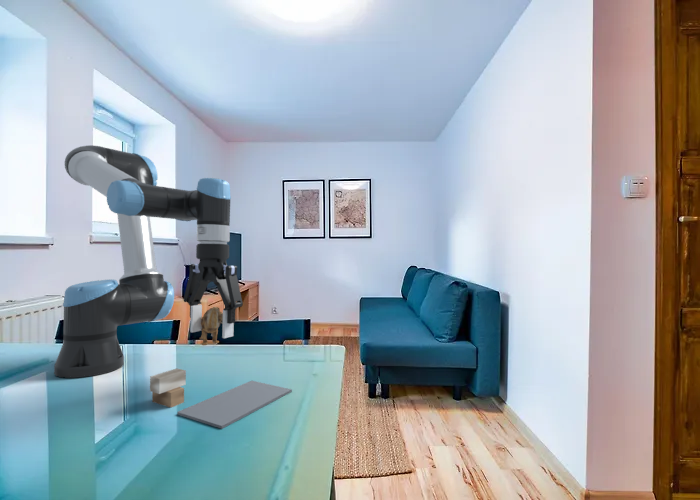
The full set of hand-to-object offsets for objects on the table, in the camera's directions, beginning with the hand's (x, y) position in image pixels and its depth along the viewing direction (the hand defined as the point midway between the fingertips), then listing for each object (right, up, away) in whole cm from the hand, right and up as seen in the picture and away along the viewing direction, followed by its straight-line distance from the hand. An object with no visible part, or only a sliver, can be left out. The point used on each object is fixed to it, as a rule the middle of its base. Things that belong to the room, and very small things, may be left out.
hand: (211, 334), depth 89 cm
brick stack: (-4, -11, -13) cm, 18 cm away
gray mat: (+11, -11, -13) cm, 20 cm away
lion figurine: (0, -2, +1) cm, 3 cm away
